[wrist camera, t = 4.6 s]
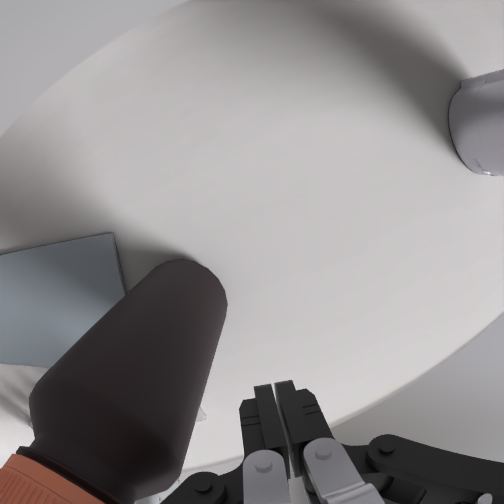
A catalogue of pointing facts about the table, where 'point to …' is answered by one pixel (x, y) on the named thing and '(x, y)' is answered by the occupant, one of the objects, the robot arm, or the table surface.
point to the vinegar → (123, 396)
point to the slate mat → (55, 297)
